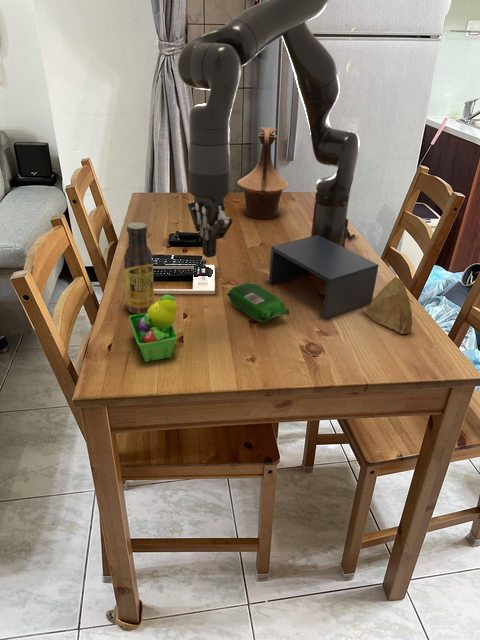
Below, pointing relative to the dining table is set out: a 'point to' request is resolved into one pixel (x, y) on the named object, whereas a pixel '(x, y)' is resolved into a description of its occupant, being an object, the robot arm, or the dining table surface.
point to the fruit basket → (156, 329)
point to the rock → (392, 307)
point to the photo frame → (199, 283)
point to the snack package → (257, 302)
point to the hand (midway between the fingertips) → (209, 255)
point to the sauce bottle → (138, 270)
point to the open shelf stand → (326, 271)
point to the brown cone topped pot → (263, 182)
